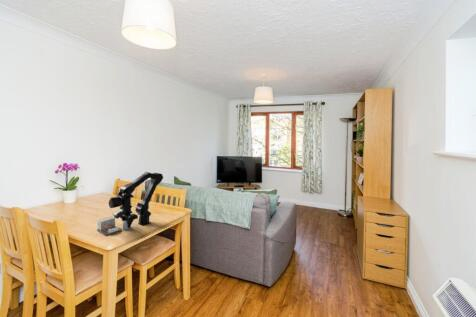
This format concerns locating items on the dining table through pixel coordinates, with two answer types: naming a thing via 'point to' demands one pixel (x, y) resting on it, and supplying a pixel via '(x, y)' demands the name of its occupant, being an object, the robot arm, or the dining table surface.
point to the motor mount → (107, 226)
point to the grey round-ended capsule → (125, 225)
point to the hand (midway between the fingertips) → (127, 226)
